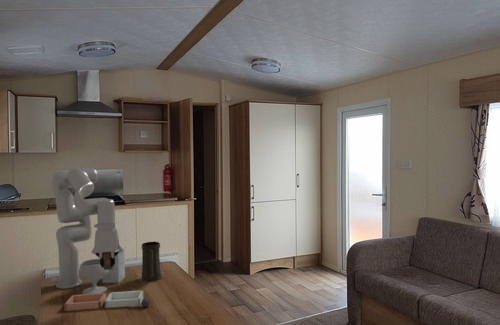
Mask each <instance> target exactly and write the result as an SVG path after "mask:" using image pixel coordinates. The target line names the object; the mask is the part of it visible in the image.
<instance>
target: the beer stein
mask: <svg viewBox="0 0 500 325" xmlns="http://www.w3.org/2000/svg"><path fill="white" fill-rule="evenodd" d="M160 247H161V244H160V242H159V241H148V242H147V241H146V242H142V244H141V250H142V262H141V281H143V282H148V283H149V282H156V281H160V280H161V279H162V270H161V263H160V262H161V261H160V260H161V259H160Z"/></svg>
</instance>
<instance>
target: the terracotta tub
mask: <svg viewBox="0 0 500 325" xmlns="http://www.w3.org/2000/svg"><path fill="white" fill-rule="evenodd" d="M106 299H107V292H102V293H97V294H83V293H82V294H72V295H71V296H70V298H68V300H66V302H65V303H64V311H65V312H66V311H67V312H68V311H69V312H70V311H82V310H95V309H96V310H98V309H102V307H103V306H104V305H105V300H106Z"/></svg>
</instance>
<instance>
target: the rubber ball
mask: <svg viewBox="0 0 500 325" xmlns="http://www.w3.org/2000/svg"><path fill="white" fill-rule="evenodd" d="M150 304H151V301H150V299H148V298H143V300H142V302H141V306H142V307H143V308H146V307H149V305H150Z"/></svg>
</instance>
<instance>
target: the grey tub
mask: <svg viewBox="0 0 500 325" xmlns="http://www.w3.org/2000/svg"><path fill="white" fill-rule="evenodd" d="M106 298H107V299H106V300H105V302H104V308H105V309H111V308H120V307H121V308H125V307H129V308H139V307H141V306H142V304H141V302H142V300H143V299H145V298H144V290H130V291H115V292H114V291H112V292H109V294H108V296H106Z"/></svg>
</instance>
